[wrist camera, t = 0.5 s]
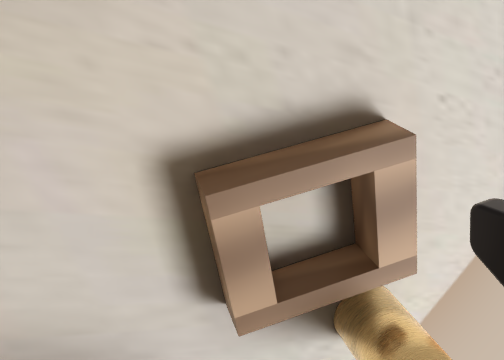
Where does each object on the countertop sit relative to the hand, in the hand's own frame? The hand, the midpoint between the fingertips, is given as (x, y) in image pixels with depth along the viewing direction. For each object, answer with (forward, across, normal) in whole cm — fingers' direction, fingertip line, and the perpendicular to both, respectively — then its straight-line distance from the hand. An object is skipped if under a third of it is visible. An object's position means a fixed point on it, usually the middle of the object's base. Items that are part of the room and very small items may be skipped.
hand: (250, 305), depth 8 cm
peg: (+14, -9, +16) cm, 23 cm away
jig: (+14, -6, +7) cm, 17 cm away
